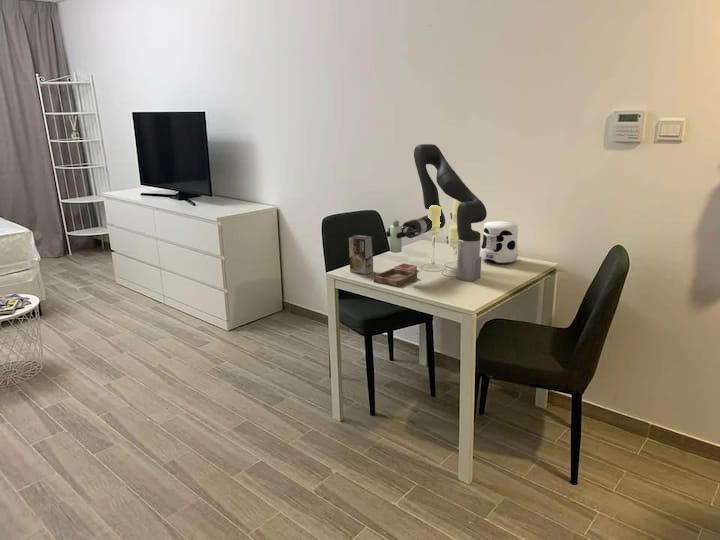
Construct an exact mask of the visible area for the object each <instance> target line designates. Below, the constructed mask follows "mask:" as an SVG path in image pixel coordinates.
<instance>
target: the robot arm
mask: <svg viewBox="0 0 720 540" xmlns="http://www.w3.org/2000/svg"><path fill="white" fill-rule="evenodd" d="M413 159H414V164H415V167H416V171H417V174H418V177H419V182H420V184H421V190H422V197H423V205H424V209H426V210H429V207H430V206H431V205H438V206H440V207H441V204H440V197H439V196H440V195H439V190H438V187H437V185H438V186H439V188H440V189H441V190H442V192H443V193H444V194H445V195H447V196H449V197H450V198H452V199H453V200H456V201H458V202H460V203H459V204H458V207H457V208H456V209H457V210H456V231H457V236H458V238H457V239H458V240H457V263H456V264H457V265H456V266H457V267H456V279H458V280H460V281H465V282H476V281H477V280H479V279H481V274H482V273H481V272H482V258H481V238H482V237H481V232H480V231H478V230H474V229H473V228H472V224H477V223H481V222H483V221H485V220H486V219H487V214H488V213H487V208H486V206H485V205H484V203H483V202H482V200H481V199H479V197H477V195H475V194H474V193H473V192H472V191H471V189H469V187H468V186H467V185H466V184H465V183H464V181H463V180H462V178H461V177H460V176H459V175H458V174H457V172H456V171H455V170H454V169H453V167H452V166H451V164H449V162H448V161H447V159H446V158H445V156H444V155H443V153H442V151H441V149H440V148H439V146H437V145H436V144H432V143H429V144H428V143H424V144H423V143H422V144H421V143H420V144H416V146H415V147H414V150H413ZM427 165H431V166H433V167H434V168H435V170H436V171H437V172H436V183H437V185H436V184H435V182H434V181H433V179H432V177H431V176H430V174H429V171H428V169H427ZM428 215H429V214H427V215H423V216H422V217H419V218H414V219H410V220H407V221H405V222H404V223H403V224H402V225H401V226H402V232H400V233H397V238H398V239H399V238H402V239H403V238H408V239H413V238H416V237H419V236H421V235H423V234H425V233H428V232H430V231H432V230H431V228H432V221H431V220H430V219H429V218H428ZM440 222H441V224H440V228H439V229H442V228H444V227H445V225H446V217H445V215H444V211H443V209H442V207H441V216H440ZM385 236H386V237H387V238H389V237H390V227H388V228H387V231H386V232H385Z"/></svg>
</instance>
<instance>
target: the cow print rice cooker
mask: <svg viewBox="0 0 720 540" xmlns="http://www.w3.org/2000/svg"><path fill="white" fill-rule="evenodd" d="M518 226H519V225H518V224H517V223H516V222H515V223H514V222H511V221H500V220H499V221H488V222H485V223H484V224H483V233H482V236H483V237H482V244H481V246H480V256H481V260H483V261H484V262H486V263H489V264H494V265H507V264H512V263H515V262H516V261H517V260H518V256H519V249H518V248H519V247H518V231H519V227H518Z"/></svg>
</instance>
